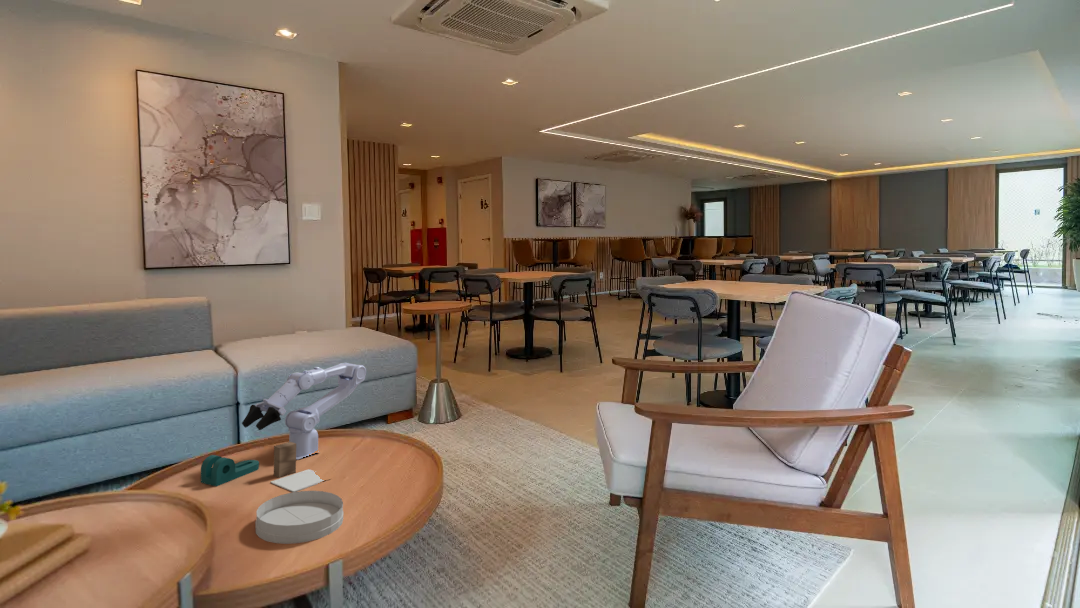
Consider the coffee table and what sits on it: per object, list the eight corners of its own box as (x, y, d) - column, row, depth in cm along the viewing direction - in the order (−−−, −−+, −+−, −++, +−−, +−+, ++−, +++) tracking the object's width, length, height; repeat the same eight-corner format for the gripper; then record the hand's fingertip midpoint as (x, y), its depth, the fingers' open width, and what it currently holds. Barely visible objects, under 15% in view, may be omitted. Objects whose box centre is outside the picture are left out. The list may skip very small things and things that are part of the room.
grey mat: (309, 470, 190) (309, 469, 190) (332, 478, 184) (332, 477, 184) (270, 482, 178) (270, 481, 178) (293, 492, 172) (293, 491, 172)
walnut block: (290, 470, 189) (290, 441, 189) (295, 472, 188) (296, 443, 187) (273, 475, 184) (274, 446, 183) (279, 478, 183) (279, 448, 182)
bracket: (216, 487, 174) (216, 462, 173) (200, 483, 176) (200, 458, 175) (263, 468, 191) (263, 445, 190) (248, 464, 193) (248, 442, 192)
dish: (317, 500, 168) (318, 484, 168) (359, 524, 154) (359, 507, 154) (240, 524, 151) (240, 506, 151) (279, 554, 137) (279, 534, 137)
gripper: (262, 388, 197) (231, 415, 187) (288, 391, 189) (257, 420, 180) (272, 402, 200) (242, 430, 190) (299, 406, 193) (269, 435, 183)
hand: (250, 426), depth 185 cm, fingers open, 7 cm apart
